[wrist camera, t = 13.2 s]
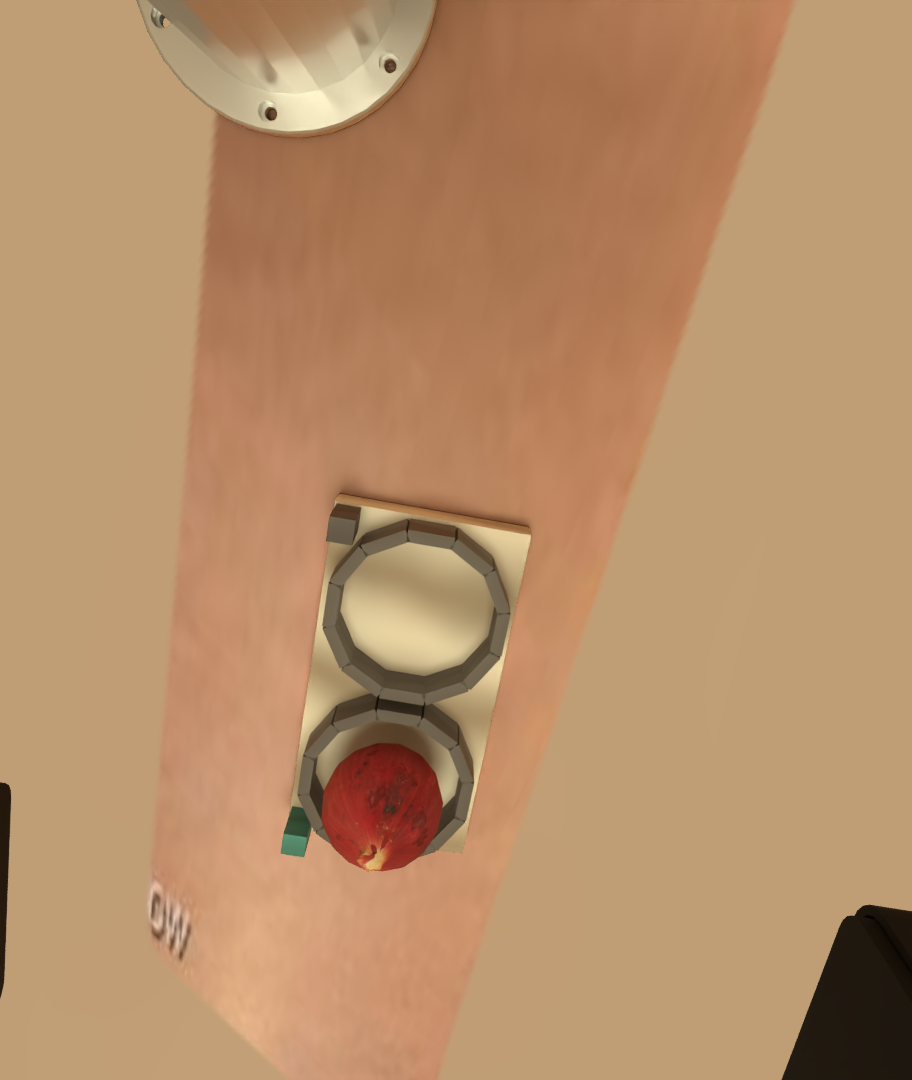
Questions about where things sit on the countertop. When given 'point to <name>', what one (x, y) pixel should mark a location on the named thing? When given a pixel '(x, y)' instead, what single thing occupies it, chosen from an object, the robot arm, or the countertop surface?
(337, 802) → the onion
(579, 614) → the countertop surface
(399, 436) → the countertop surface
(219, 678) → the countertop surface
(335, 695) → the cream flat ringed piece
